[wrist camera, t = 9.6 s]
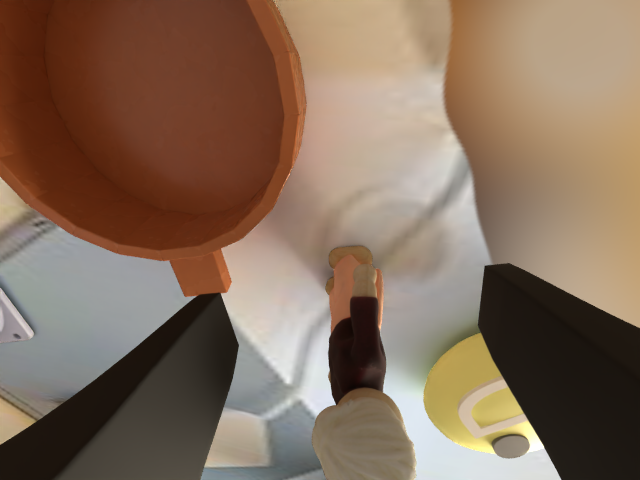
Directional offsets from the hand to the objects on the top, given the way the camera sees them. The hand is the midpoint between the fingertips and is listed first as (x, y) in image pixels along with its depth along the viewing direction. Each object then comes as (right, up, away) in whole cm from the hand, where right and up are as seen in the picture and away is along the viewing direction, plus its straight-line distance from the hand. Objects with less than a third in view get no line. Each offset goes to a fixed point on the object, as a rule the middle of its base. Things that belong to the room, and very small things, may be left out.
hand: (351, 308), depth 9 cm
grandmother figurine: (+1, 0, +12) cm, 12 cm away
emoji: (+13, -8, +16) cm, 22 cm away
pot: (-8, +9, +7) cm, 14 cm away
